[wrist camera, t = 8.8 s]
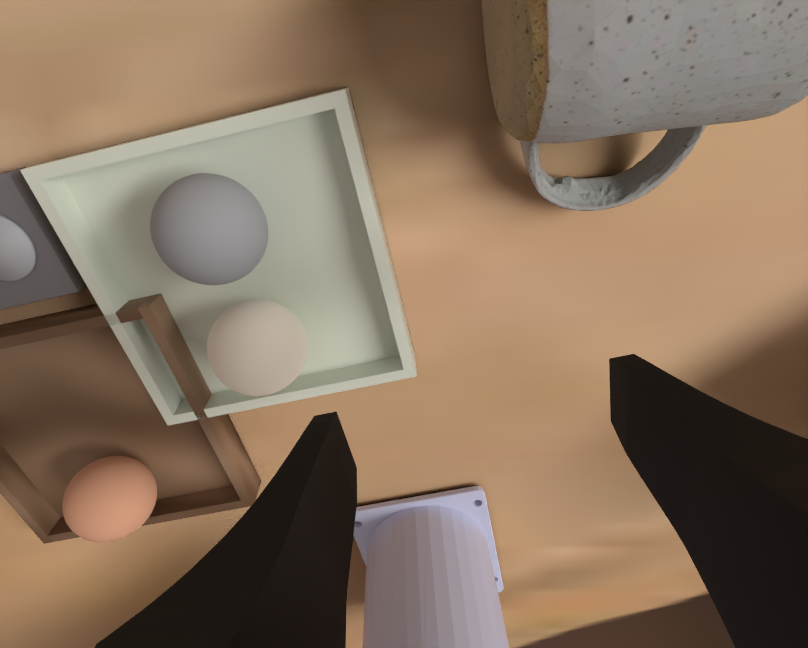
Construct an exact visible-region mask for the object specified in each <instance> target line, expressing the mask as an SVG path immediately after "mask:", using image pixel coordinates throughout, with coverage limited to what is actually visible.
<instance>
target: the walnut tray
mask: <svg viewBox="0 0 808 648" xmlns="http://www.w3.org/2000/svg"><path fill="white" fill-rule="evenodd" d="M115 314H116V315H114V316H117V317H118V319H119V321H120V322H121V323H125V322H130V321H134V320H139V319H144V321H145V322H146V324H147V326H148V328H149V330H150V332H151V334H152V335H153V337H154V339H155V341H156V343H157V345H158V347H159V349H160V350H161V352H162V354H163V356H164V358H165V360H166V362H167V363H168V365H169V367H170V369H171V371H172V373H173V375H174V376H175V378H176V380H177V382H178V384H179V386H180V388H181V389H182V391H183V393H184V395H185V397H186V399H187V401H188V403H189V404H190V406H191V408H192V410H193V412H194V414H195V416H197V418H199V417H200V418H203V417H204V416H205V417H204V418H203V419H198V420H194V421H189V422H184V423H179V424H174V425H169V426H168V425H167V424H166V422H165V420H164V418H163V417H162V415H161V413H160V411H159V410H158V408H157V406H156V405H155V403H154V401H153V399H152V398H151V396H150V394H149V392H148V391H147V389H146V387H145V386H144V384H143V382H142V380H141V379H140V377H139V375H138V373H137V372H136V370H135V368H134V366H133V365H132V363H131V361H130V360H129V358H128V356H127V354H126V353H125V351H124V349H123V347H122V346H121V344H120V342H119V341H118V339H117V337H116V335H115V334H114V332H113V330H112V328H111V327H110V325H109V323H108V321H109V320H108V321H107V320H106V317H105V315H103V313H102V311H101V309H100V308H99V306H98V304H94V305H89V306H85V307H80V308H76V309H71V310H67V311H62V312H58V313H53V314H49V315H44V316H40V317H35V318H31V319H26V320H22V321H17V322H13V323H8V324H3V325H0V493H1V494H2V495H3V496H4V498H5V499H6V500H7V501H8V502H9V503H10V505H11V506H12V507H13V508H14V509H15V510H16V512H17V513H18V514H19V515H20V516H21V517H22V519H23V520H24V521H25V522H26V523H27V524H28V526H29V527H30V528H31V529H32V530H33V531H34V533H35V534H36V535H37V536H38V537H39V538H40V539H41V541H42V542H43V543H50V542H55V541H61V540H66V539H72V538H77V537H80V536H78V535H76V534H75V533H74V532H73V531H72V530H71V529H70V528H69V526H68V525H67V523H66V521H65V519H64V516H63V509H62V504H63V497H64V494H65V491H66V488H67V486H68V485H69V483H70V481H71V480H72V479H73V477H74V476H75V475H76V474H77V473H78V472H79V471H80V470H81V469H83V468H84V467H85V466H87V465H88V464H90V463H92V462H94V461H96V460H98V459H101V458H105V457H109V456H127V457H131V458H134V459H136V460H138V461H140V462H142V463H143V464H145V465H146V466H147V467H148V468H149V469H150V471H151V472H152V474H153V475H154V478H155V480H156V484H157V499H156V503H155V506H154V509H153V511H152V513H151V514H150V516H149V518H148V519H147V520H146V521H145V523H144V524H143V525H142V526H144V525H149V524H155V523H160V522H166V521H171V520H177V519H182V518H188V517H193V516H199V515H204V514H210V513H215V512H221V511H226V510H232V509H237V508H243V507H249V506H252V505H253V503H254V502H255V500H256V497H257V493H258V490H259V487H260V483H261V480H260V478H259V476H258V474H257V472H256V470H255V468H254V466H253V464H252V462H251V460H250V458H249V455H248V453H247V451H246V449H245V447H244V445H243V443H242V441H241V439H240V437H239V435H238V433H237V431H236V429H235V427H234V425H233V423H232V421H231V419H230V417H229V415H228V414H224V415H219V416H214V417H209V418H208V417H207V418H206V416H207V415H206V413H205V411H204V410H203V409H204V408H205V406H206V404H207V402H208V400H209V398H210V396H211V394H212V393H211V391H210V389H209V387H208V386H207V384H206V382H205V380H204V378H203V376H202V374H201V372H200V370H199V368H198V366H197V364H196V362H195V360H194V358H193V356H192V354H191V352H190V350H189V348H188V346H187V344H186V342H185V340H184V338H183V336H182V334H181V332H180V330H179V328H178V326H177V324H176V322H175V320H174V318H173V316H172V314H171V312H170V310H169V308H168V306H167V304H166V302H165V300H164V298H163V296H162V294H161V293H160V294H156V295H151V296H147V297H142V298H138V299H133V300H129V301H128V302H127V303H125V304H124V305H123V306H122V307H121V308H120V309H119V310H118V311H117V312H116V313H115ZM111 315H112V314H111ZM110 317H112V316H110ZM112 320H113V318H112ZM114 321H115V320H114ZM119 321H118V323H119ZM113 323H115V322H113ZM112 325H113V324H112ZM115 325H116V324H115ZM197 414H198V415H197ZM200 415H201V416H202V417H201V416H200Z"/></svg>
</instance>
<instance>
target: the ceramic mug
mask: <svg viewBox="0 0 808 648" xmlns="http://www.w3.org/2000/svg"><path fill="white" fill-rule="evenodd" d="M481 1H482V18H483V31H484V42H485V51H486V60H487V68H488V75H489V82H490V88H491V93H492V98H493V103H494V107H495V110H496V113H497V116H498V119H499V121H500V123H501V125H502V127H503V128H504V129H505V130H506V131H507V132H508V133H509V134H511V135H512V136H513V137H515V138H516V139H518V140H521V147H522V151H523V156H524V160H525V164H526V167H527V170H528V173H529V175H530V178H531V180H532V183H533V184H534V186H535V188H536V189H537V191H538V192H539V194H540V195H541V196H543V197H544V198H545V199H547V200H548V201H549V202H551V203H553V204H555V205H556V206H558V207H560V208H565V209H570V210H579V211H594V210H603V209H609V208H614V207H617V206H621V205H624V204H626V203H629V202H631V201H633V200H636V199H638V198H640V197H642V196H643V195H645V194H647V193H648V192H650V191H651V190H653V189H654V188H655V187H657V186H658V185H659V184H661V183H662V182H663V181H664V180H665V179H666V178H667V177H668V176H670V175H671V174H672V173H673V172H674V171H675V170H676V169H677V168H678V167H679V165H680V164H681V163H682V162H683V161H684V159H685V158H686V157H687V156H688V155H689V153H690V152H691V151H692V149H693V148H694V146H695V144H696V143H697V141H698V140H699V138H700V136H701V134H702V132H703V131H704V129H705V127H706V126H707V125H712V124H721V123H732V122H740V121H747V120H754V119H759V118H763V117H767V116H771V115H774V114H777V113H779V112H781V111H783V110H785V109H787V108H788V107H790V106H792V105H794V104H795V103H797V102H800V101H802V100H803V99H804V98H805V97H806V96H807V95H808V0H481ZM659 130H667V132H666V134H665V136H664V137H663V138H662V140H661V141H660V142H659V143H658V145H657V146H656V147H655V148H654V149H653V150H652V151H651V152H650V153H649V154H648V155H647V156H646V157H645V158H644V159H642V160H641V161H639V162H638V163H637V164H635V165H634V166H633V167H632V168H630V169H628V170H626V171H624V172H620V173H618V174H616V175H614V176H608V177H596V178H572V177H570V176H566V177H562V178H558V179H555V178H553V177H551V176H549V175H547V174H546V173H545V172H544V170H543V169H542V168H541V167H540V163H539V156H538V153H539V143H568V142H577V141H584V140H591V139H597V138H603V137H609V136H615V135H621V134H629V133H639V132H649V131H659Z"/></svg>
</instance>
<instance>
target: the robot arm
mask: <svg viewBox="0 0 808 648" xmlns="http://www.w3.org/2000/svg"><path fill="white" fill-rule="evenodd" d="M609 363H610V406H611V422H612V424H613V426H614V429H615V431H616V433H617V435H618V437H619V440H620V442H621V444H622V446H623V448H624V450H625V452H626V454H627V456H628V457H629V459H630V460H631V462H632V464H633V465H634V467H635V468H636V470H637V471H638V473H639V475H640V476H641V478H642V479H643V481H644V482H645V484H646V485H647V487H648V489H649V490H650V492H651V493H652V495H653V496H654V498H655V499H656V501H657V502H658V504H659V506H660V507H661V509H662V510H663V512H664V513H665V515H666V516H667V518H668V519H669V521H670V522H671V524H672V526H673V527H674V529H675V530H676V532H677V534H678V535H679V537H680V539H681V540H682V542H683V544H684V545H685V547H686V549H687V551H688V553H689V555H690V557H691V559H692V561H693V563H694V564H695V566H696V568H697V570H698V572H699V574H700V576H701V578H702V580H703V582H704V584H705V586H706V588H707V590H708V592H709V594H710V596H711V598H712V600H713V602H714V604H715V605H716V608H717V610H718V612H719V614H720V616H721V618H722V620H723V622H724V624H725V627H726V629H727V631H728V633H729V635H730V637H731V639H732V641H733V643H734V646H735V648H808V439H806V438H803V437H800V436H798V435H795V434H793V433H790V432H788V431H785V430H783V429H780V428H778V427H775V426H773V425H770V424H768V423H765V422H763V421H761V420H758V419H756V418H754V417H752V416H749V415H747V414H745V413H743V412H741V411H739V410H737V409H735V408H733V407H730V406H728V405H726V404H724V403H722V402H720V401H718V400H716V399H714V398H712V397H710V396H708V395H707V394H705V393H703V392H701V391H699V390H697V389H695V388H693V387H692V386H690V385H688V384H686V383H684V382H683V381H681V380H679V379H677V378H675V377H674V376H672V375H670V374H668V373H667V372H665V371H663V370H661V369H660V368H658V367H656V366H654V365H653V364H651V363H649V362H647V361H646V360H644V359H642V358H640V357H638V356H637V355H635V354H631V355H626V356H621V357H616V358H611V359H609ZM476 500H479V501H476ZM356 521H359V522H356ZM353 536H354V538H355V540H356V543H357V545H358V548H359V550H360V553H361V555H362V558H363V560H364V563H365V565H366V584H365V606H364V628H363V648H509V644H508V639H507V634H506V630H505V625H504V620H503V615H502V610H501V605H500V600H499V595H498V593H500V592H501V591H502V590H503V582H502V577H501V572H500V567H499V562H498V557H497V552H496V547H495V542H494V537H493V532H492V527H491V522H490V517H489V512H488V507H487V502H486V497H485V492H484V489H483V488H482V487H479V486H472V487H467V488H461V489H455V490H450V491H444V492H438V493H433V494H427V495H422V496H416V497H410V498H405V499H399V500H393V501H388V502H382V503H377V504H371V505H365V506H360V507H357V467H356V465H355V462H354V459H353V456H352V454H351V451H350V448H349V445H348V443H347V440H346V437H345V434H344V431H343V429H342V426H341V423H340V420H339V418H338V415H337V412H332V413H327V414H322V415H317V416H314V417H313V419H312V420H311V422H310V423H309V425H308V426H307V428H306V429H305V431H304V432H303V434H302V435H301V437H300V439H299V440H298V442H297V443H296V445H295V446H294V448H293V449H292V451H291V452H290V454H289V455H288V457H287V458H286V460H285V461H284V463H283V464H282V466H281V467H280V468H279V470H278V471H277V473H276V474H275V476H274V477H273V478H272V480H271V481H270V482H269V484H268V485H267V486H266V488H265V489H264V490H263V492H262V493H261V494H260V496H259V497H258V498H257V500H256V501H255V502H254V503H253V505H252V506H251V507H250V508H249V509H248V511H247V512H246V513H245V514H244V515H243V517H242V518H241V519H240V520H239V521H238V522H237V523H236V524H235V525H234V527H233V528H232V529H231V530H230V531H229V532H228V533H227V534H226V535H225V536H224V537H223V538H222V540H221V541H219V542H218V543H217V544H216V545H215V546H214V547H213V548H212V549H211V550H210V551H209V552H208V553H207V554H206V555H205V556H204V557H203V558H202V559H201V560H200V561H199V562H198V563H197V564H196V565H195V566H194V567H193V568H192V569H191V570H190V571H188V572H187V573H186V574H185V575H184V576H183V577H182V578H181V579H179V580H178V581H177V582H176V583H175V584H174V585H173V586H171V587H170V588H169V589H168V590H167V591H165V592H164V593H163V594H162V595H161V596H159V597H158V598H157V599H156V600H155V601H153V602H152V603H151V604H150V605H148V606H147V607H146V608H145V609H143V610H142V611H141V612H139V613H138V614H137V615H135V616H134V617H133V618H131V619H130V620H129V621H127V622H126V623H125V624H123V625H122V626H121V627H119V628H118V629H117V630H115V631H114V632H113V633H111V634H110V635H109V636H107V637H106V638H104V639H103V640H102V641H100V642H99V643H97V644H96V646H95V648H345V642H346V599H347V586H348V577H349V568H350V560H351V551H352V543H353Z"/></svg>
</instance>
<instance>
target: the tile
mask: <svg viewBox="0 0 808 648" xmlns="http://www.w3.org/2000/svg"><path fill="white" fill-rule="evenodd" d="M24 168H26V167H24ZM24 168H20V169H16V170H12V171H8V172H4V173H0V309H5V308H9V307H13V306H18V305H22V304H27V303H31V302H36V301H40V300H45V299H49V298H54V297H58V296H63V295H67V294H72V293H76V292H79V291H80V290H82V289H83V288H84V287H86V286H87V285H86V284H85V282H84V280H83V278H82V277H81V275H80V273H79V271H78V270H77V268H76V266H75V265H74V263H73V261H72V259H71V258H70V256H69V254H68V252H67V251H66V249H65V247H64V245H63V244H62V242H61V240H60V239H59V237H58V235H57V233H56V232H55V230H54V228H53V226H52V225H51V223H50V221H49V220H48V218H47V216H46V214H45V213H44V211H43V209H42V207H41V206H40V204H39V202H38V201H37V199H36V197H35V195H34V194H33V192H32V190H31V188H30V187H29V185H28V183H27V182H26V180H25V178H24V176H23V175H22V173H21V171H20V170H21V169H24Z"/></svg>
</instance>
